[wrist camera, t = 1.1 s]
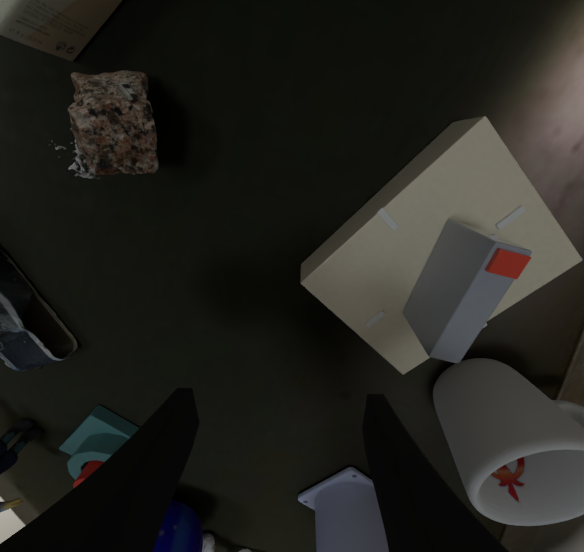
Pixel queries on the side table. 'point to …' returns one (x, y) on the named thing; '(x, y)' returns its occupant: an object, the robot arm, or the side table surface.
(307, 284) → the panel
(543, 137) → the side table surface
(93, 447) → the button block
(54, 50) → the box
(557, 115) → the side table surface
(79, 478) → the button
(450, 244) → the gray rectangular block
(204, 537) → the fairy figurine
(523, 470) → the cup
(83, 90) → the rock
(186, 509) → the ornament
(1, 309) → the camera
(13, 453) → the character figure
